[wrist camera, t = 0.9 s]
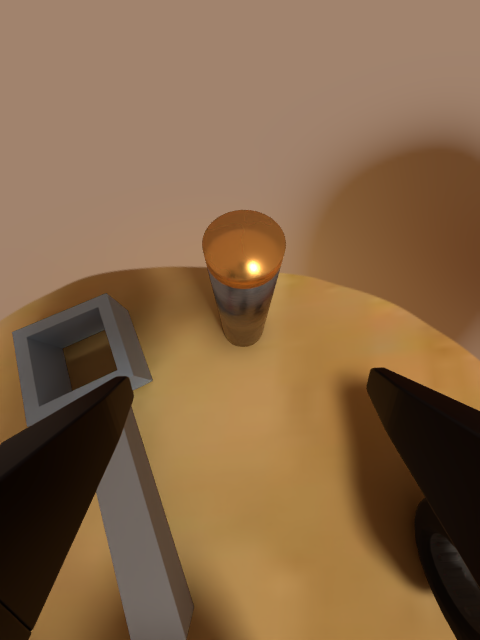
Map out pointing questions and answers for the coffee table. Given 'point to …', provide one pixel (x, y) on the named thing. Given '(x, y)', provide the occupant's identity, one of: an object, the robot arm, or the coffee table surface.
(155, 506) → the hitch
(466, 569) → the controller
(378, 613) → the coffee table surface
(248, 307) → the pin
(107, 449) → the robot arm
